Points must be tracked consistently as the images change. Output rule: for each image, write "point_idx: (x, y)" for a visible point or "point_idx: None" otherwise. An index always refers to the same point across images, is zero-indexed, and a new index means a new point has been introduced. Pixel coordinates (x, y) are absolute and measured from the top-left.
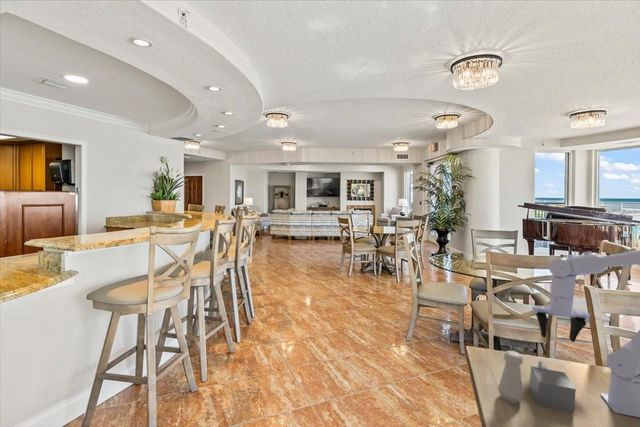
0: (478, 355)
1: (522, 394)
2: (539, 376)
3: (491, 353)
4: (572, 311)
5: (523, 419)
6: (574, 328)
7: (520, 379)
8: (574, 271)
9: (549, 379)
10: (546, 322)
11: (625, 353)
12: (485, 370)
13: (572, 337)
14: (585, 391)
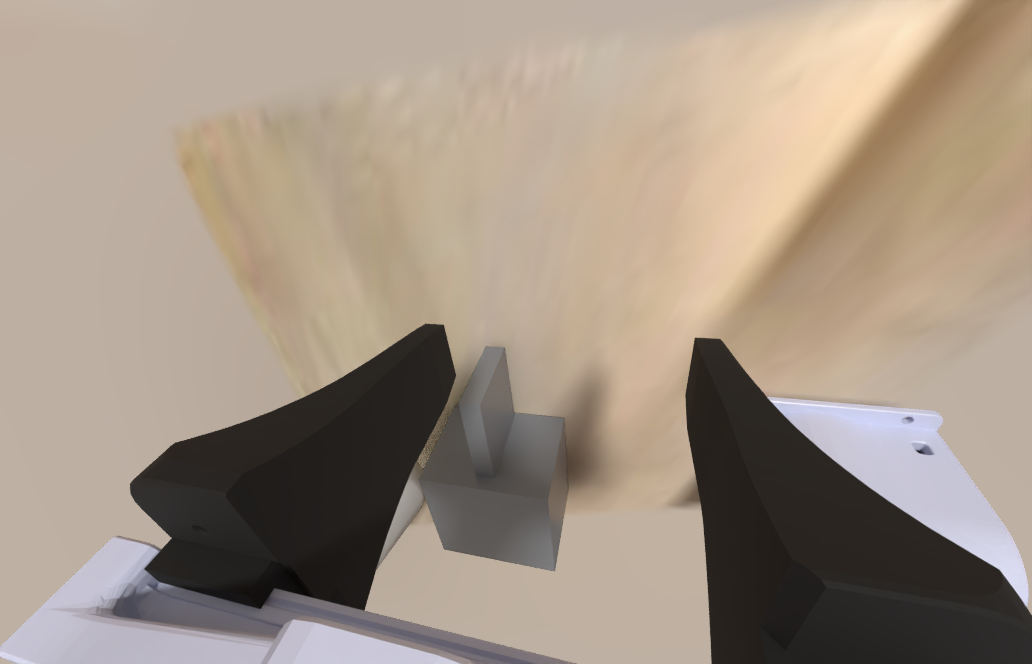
0: (233, 219)
1: (419, 507)
2: (446, 527)
3: (269, 160)
4: None
5: None
6: (710, 549)
7: (389, 551)
8: None
9: (477, 538)
10: (372, 551)
11: None
12: (305, 343)
13: (691, 428)
14: (677, 381)
